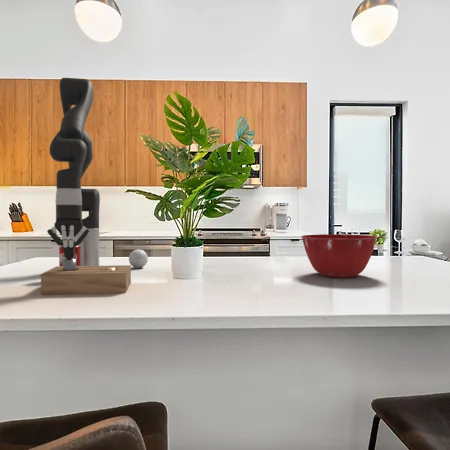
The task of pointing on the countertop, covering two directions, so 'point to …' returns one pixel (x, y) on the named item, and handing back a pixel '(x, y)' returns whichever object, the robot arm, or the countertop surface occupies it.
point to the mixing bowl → (339, 253)
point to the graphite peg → (69, 265)
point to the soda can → (77, 257)
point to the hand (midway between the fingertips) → (69, 259)
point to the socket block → (86, 280)
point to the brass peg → (109, 268)
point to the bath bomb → (138, 258)
